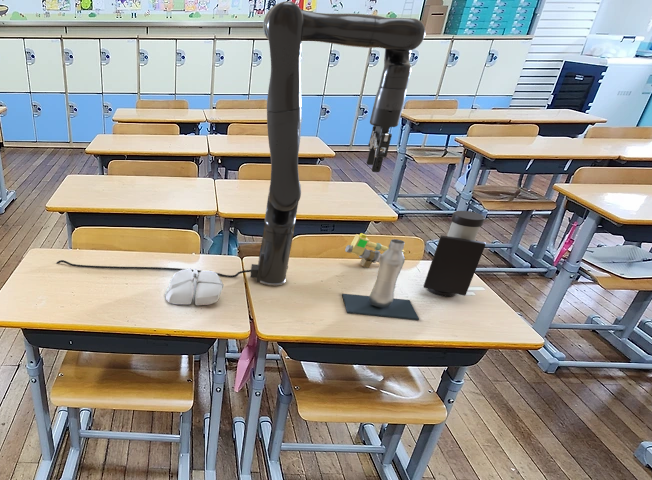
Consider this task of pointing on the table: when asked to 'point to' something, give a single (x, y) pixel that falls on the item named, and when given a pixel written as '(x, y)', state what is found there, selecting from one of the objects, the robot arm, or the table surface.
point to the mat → (364, 307)
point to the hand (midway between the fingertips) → (372, 168)
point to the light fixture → (456, 256)
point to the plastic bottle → (388, 274)
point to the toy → (367, 255)
